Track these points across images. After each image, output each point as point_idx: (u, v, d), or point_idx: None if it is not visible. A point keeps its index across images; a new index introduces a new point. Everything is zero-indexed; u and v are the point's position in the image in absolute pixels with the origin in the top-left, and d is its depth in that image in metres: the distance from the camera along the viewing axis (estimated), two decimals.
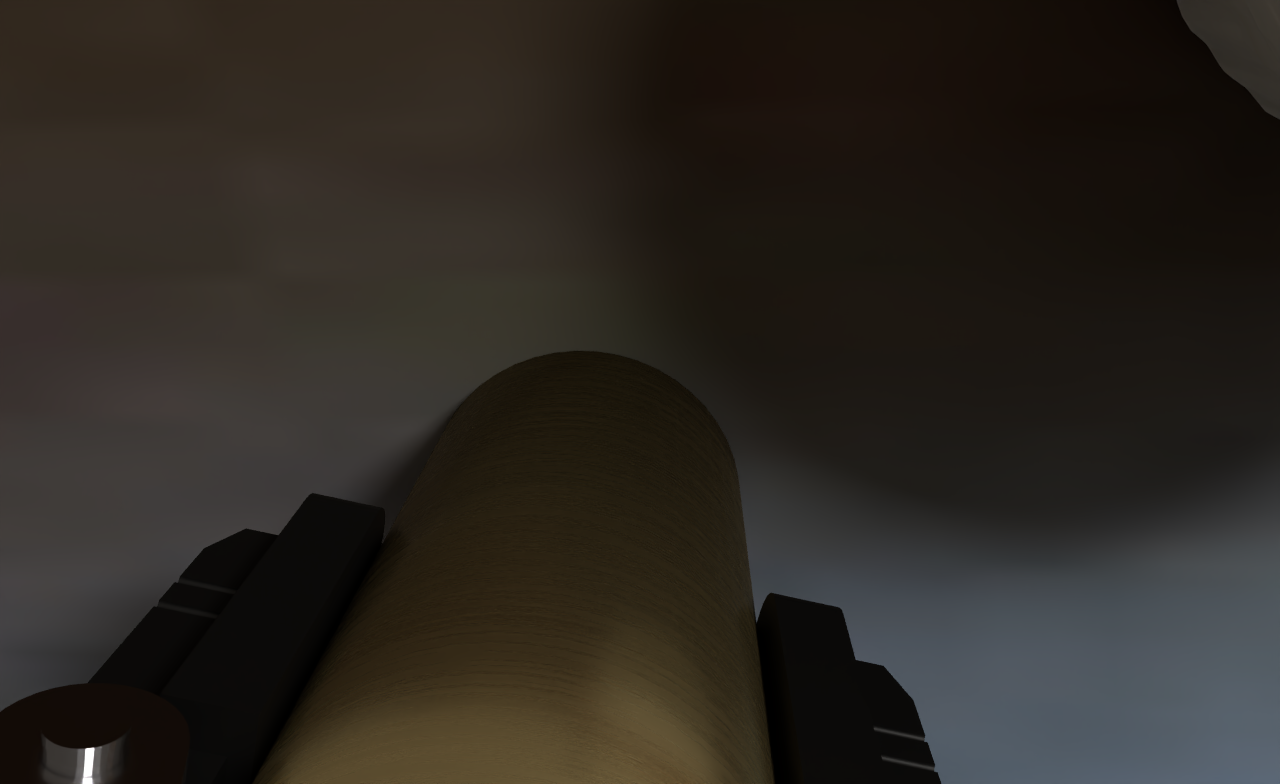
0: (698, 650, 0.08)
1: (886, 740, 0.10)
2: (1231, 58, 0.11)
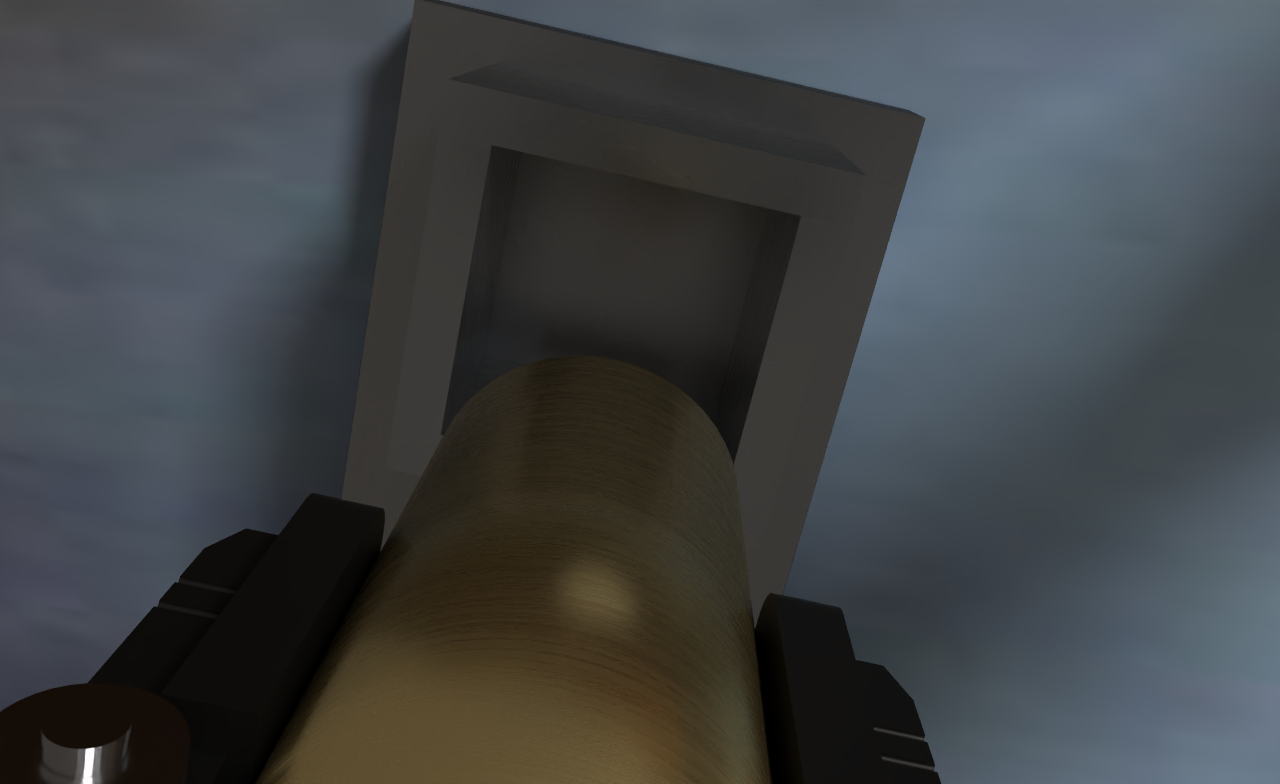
0: (695, 657, 0.09)
1: (886, 740, 0.10)
2: None
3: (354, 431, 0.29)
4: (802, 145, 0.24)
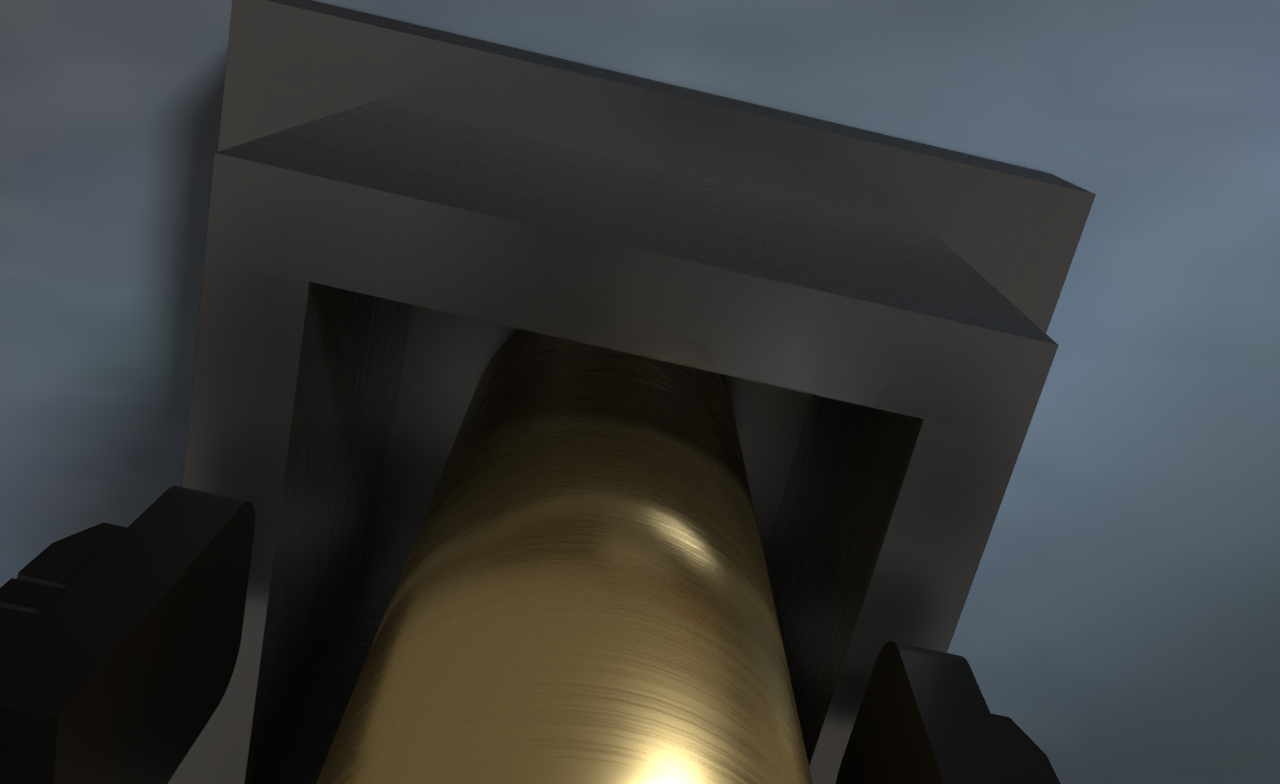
0: (719, 528, 0.11)
1: None
2: None
3: None
4: (902, 255, 0.13)
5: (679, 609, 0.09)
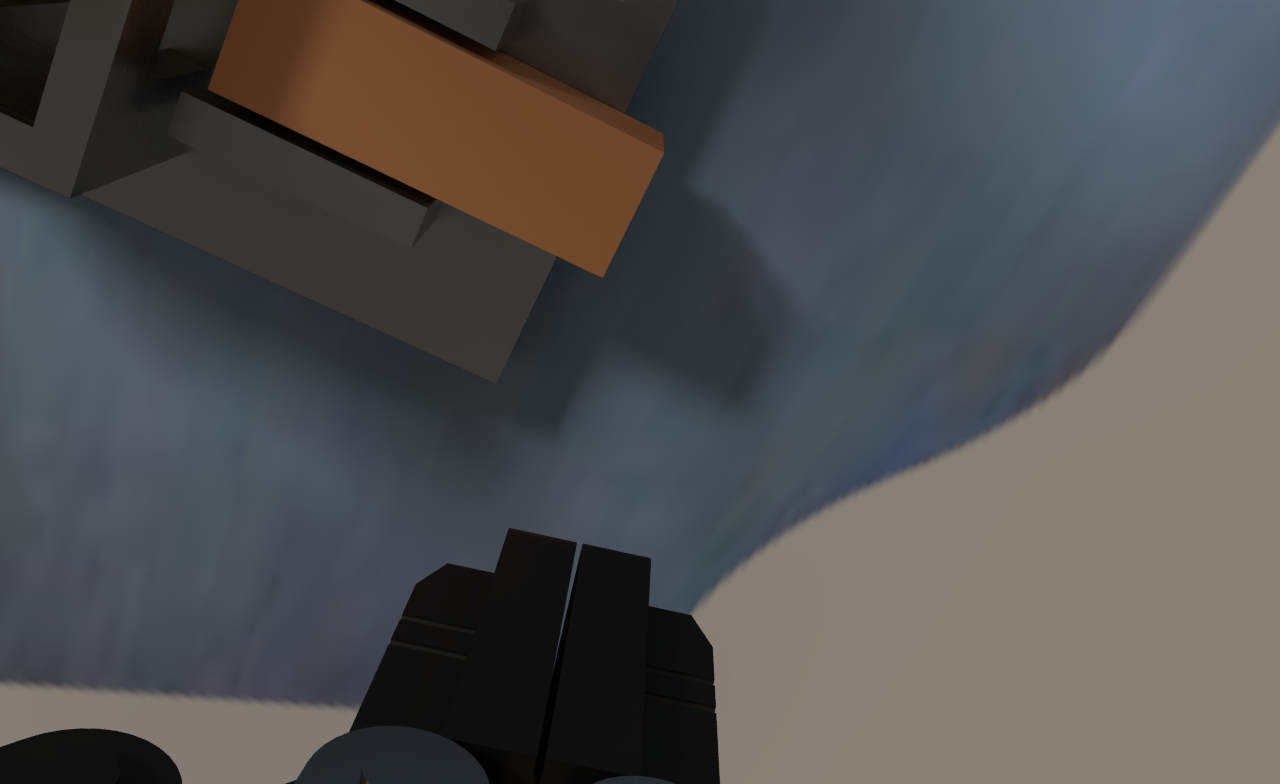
0: None
1: (672, 683, 0.10)
2: None
3: (227, 258, 0.28)
4: None
5: None
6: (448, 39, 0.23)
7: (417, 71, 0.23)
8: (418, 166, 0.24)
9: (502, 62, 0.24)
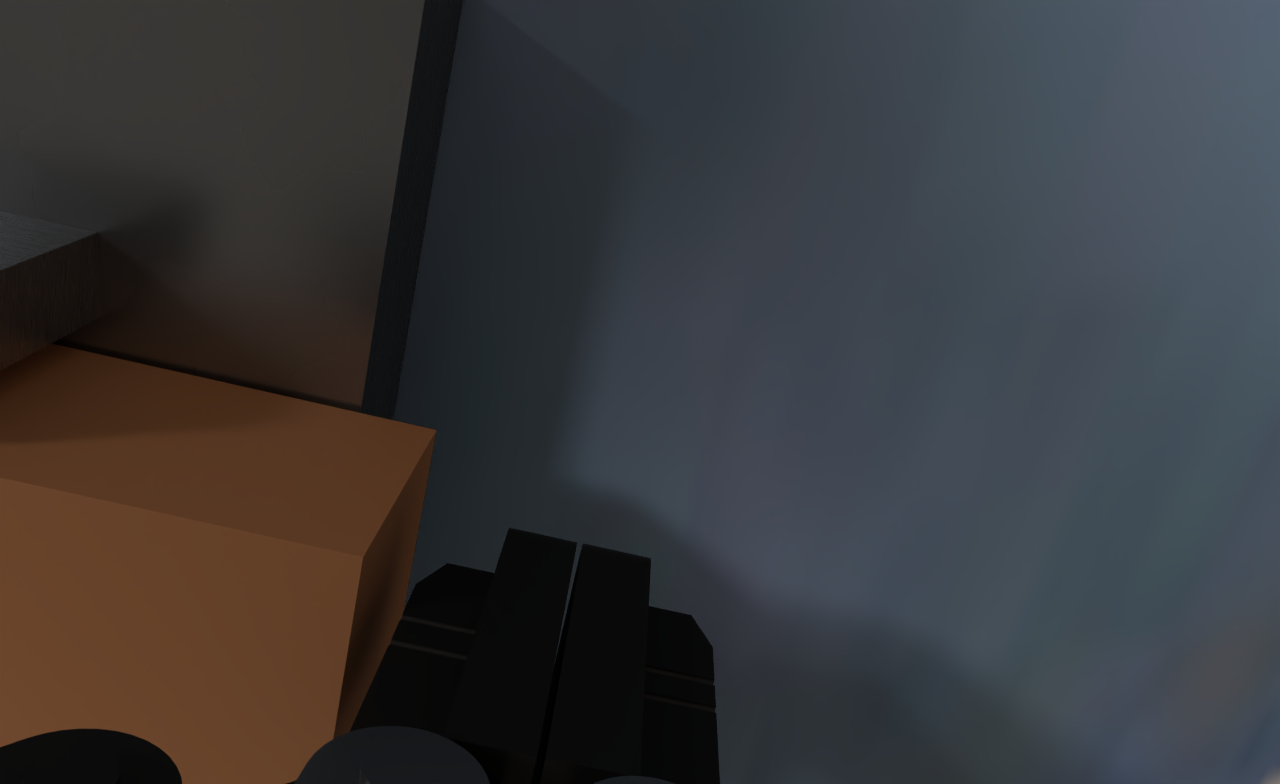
0: None
1: (672, 683, 0.10)
2: None
3: None
4: None
5: None
6: None
7: None
8: None
9: None
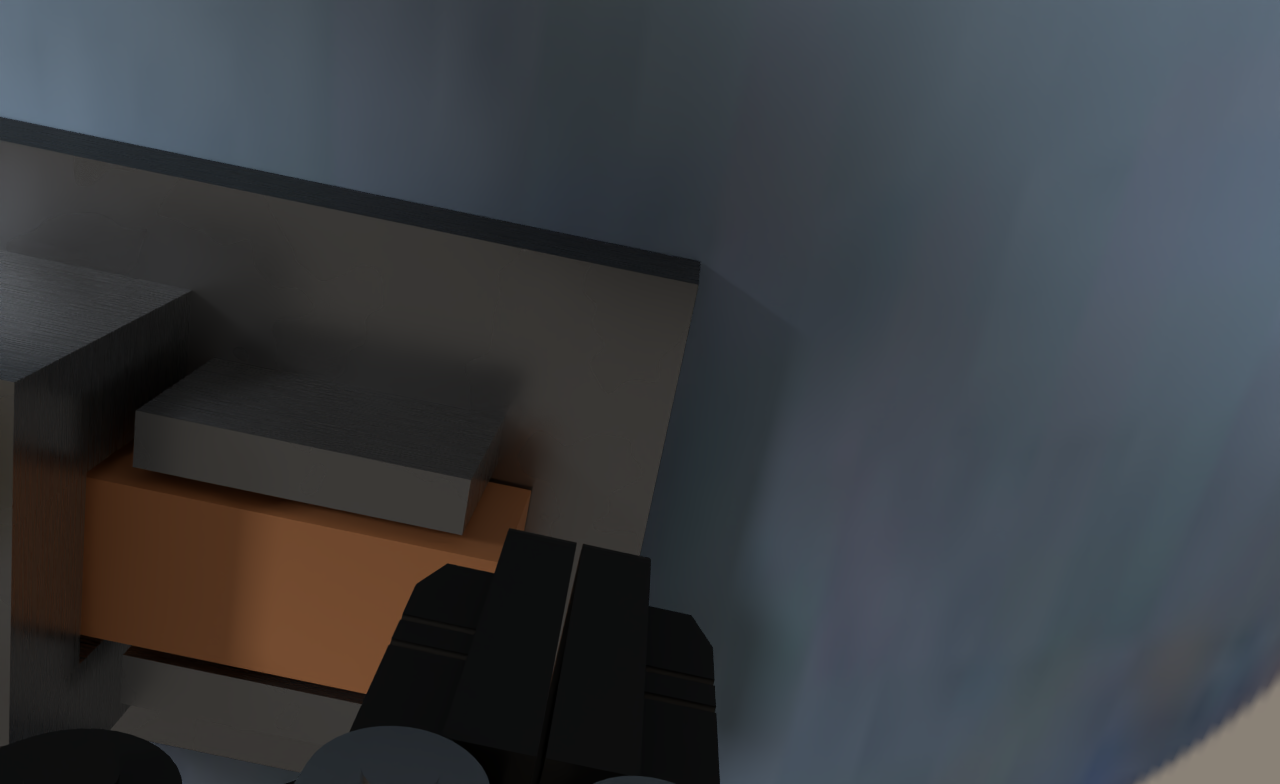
0: None
1: (672, 683, 0.10)
2: None
3: (245, 757, 0.24)
4: None
5: None
6: None
7: (185, 539, 0.19)
8: (220, 640, 0.19)
9: None
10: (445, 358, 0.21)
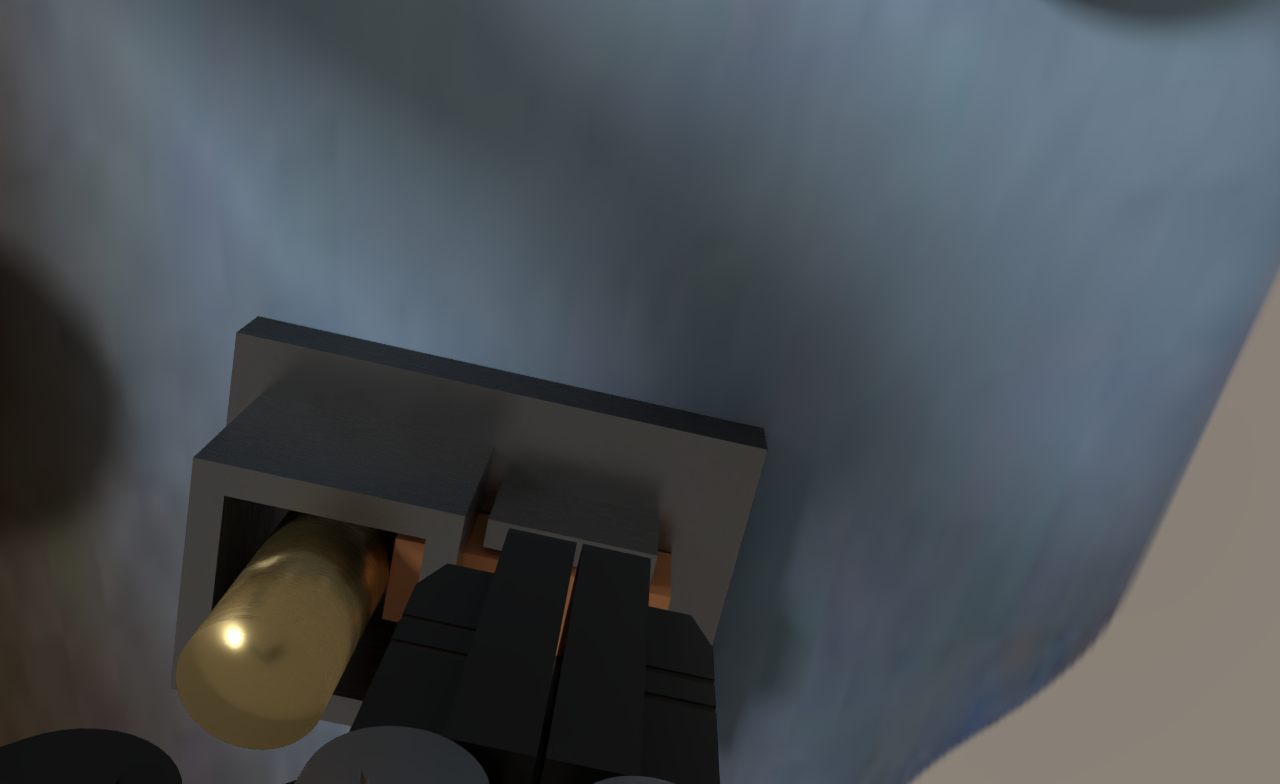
0: (245, 567, 0.33)
1: (672, 683, 0.10)
2: None
3: None
4: None
5: None
6: None
7: None
8: None
9: None
10: (629, 484, 0.38)
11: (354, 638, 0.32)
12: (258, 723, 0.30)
